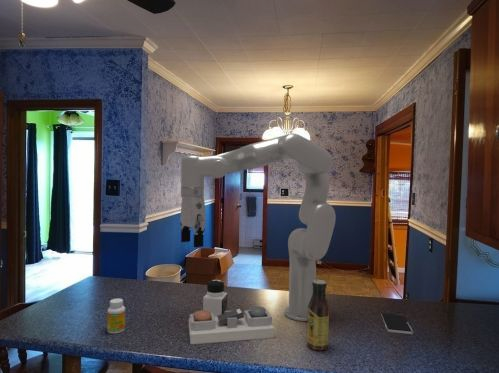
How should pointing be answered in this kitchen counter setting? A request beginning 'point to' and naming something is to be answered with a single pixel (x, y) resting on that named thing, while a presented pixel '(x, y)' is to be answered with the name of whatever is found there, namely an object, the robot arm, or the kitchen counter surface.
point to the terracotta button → (202, 315)
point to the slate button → (257, 312)
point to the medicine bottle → (215, 298)
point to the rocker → (230, 316)
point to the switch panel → (230, 329)
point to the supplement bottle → (116, 316)
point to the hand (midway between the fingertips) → (191, 244)
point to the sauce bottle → (318, 317)
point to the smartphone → (396, 323)
